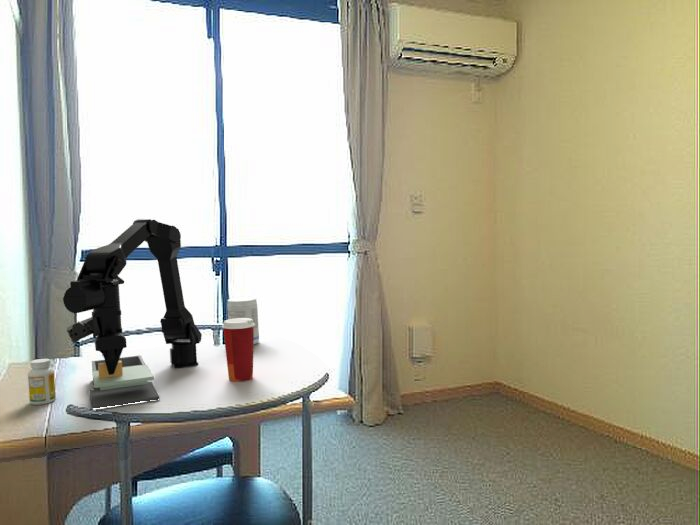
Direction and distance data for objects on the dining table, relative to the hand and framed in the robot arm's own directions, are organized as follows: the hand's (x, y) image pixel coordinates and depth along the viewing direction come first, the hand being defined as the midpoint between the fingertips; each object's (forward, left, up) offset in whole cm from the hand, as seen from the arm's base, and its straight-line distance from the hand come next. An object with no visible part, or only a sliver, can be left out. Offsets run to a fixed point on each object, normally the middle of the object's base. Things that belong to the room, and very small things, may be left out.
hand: (111, 373), depth 137 cm
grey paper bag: (-42, -42, -6) cm, 60 cm away
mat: (-2, 0, -6) cm, 7 cm away
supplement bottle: (+15, -6, -6) cm, 17 cm away
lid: (-2, 0, -1) cm, 3 cm away
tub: (-2, -14, -6) cm, 16 cm away
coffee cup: (-30, -1, -6) cm, 31 cm away
